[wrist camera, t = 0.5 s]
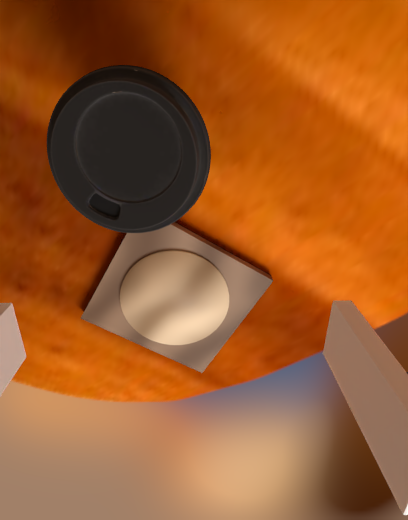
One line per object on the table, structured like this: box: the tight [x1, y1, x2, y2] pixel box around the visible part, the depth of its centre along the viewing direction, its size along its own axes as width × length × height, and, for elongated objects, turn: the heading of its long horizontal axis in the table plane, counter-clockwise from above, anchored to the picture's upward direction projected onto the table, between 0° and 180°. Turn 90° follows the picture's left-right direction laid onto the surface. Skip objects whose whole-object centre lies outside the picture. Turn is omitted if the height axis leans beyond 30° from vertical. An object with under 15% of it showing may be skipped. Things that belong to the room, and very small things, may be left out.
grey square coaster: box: [81, 222, 273, 373], centre depth 39 cm, size 16×15×2 cm
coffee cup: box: [47, 65, 211, 233], centre depth 26 cm, size 9×9×15 cm
